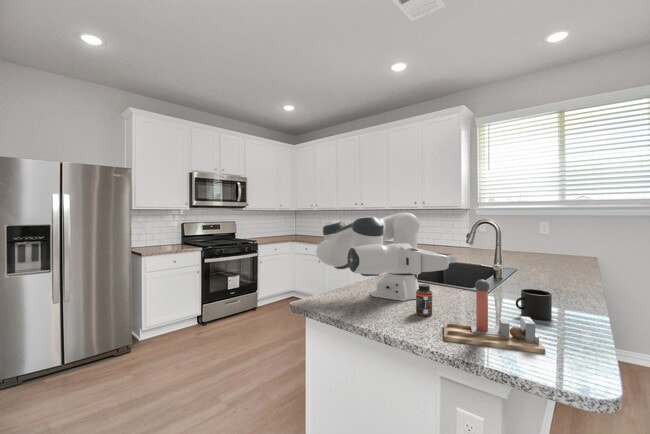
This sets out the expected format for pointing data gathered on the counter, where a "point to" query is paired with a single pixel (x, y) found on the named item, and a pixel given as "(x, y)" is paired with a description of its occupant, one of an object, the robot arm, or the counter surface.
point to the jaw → (529, 331)
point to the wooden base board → (487, 339)
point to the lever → (486, 313)
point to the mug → (535, 304)
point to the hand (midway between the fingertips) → (446, 256)
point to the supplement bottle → (424, 300)
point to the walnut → (516, 332)
